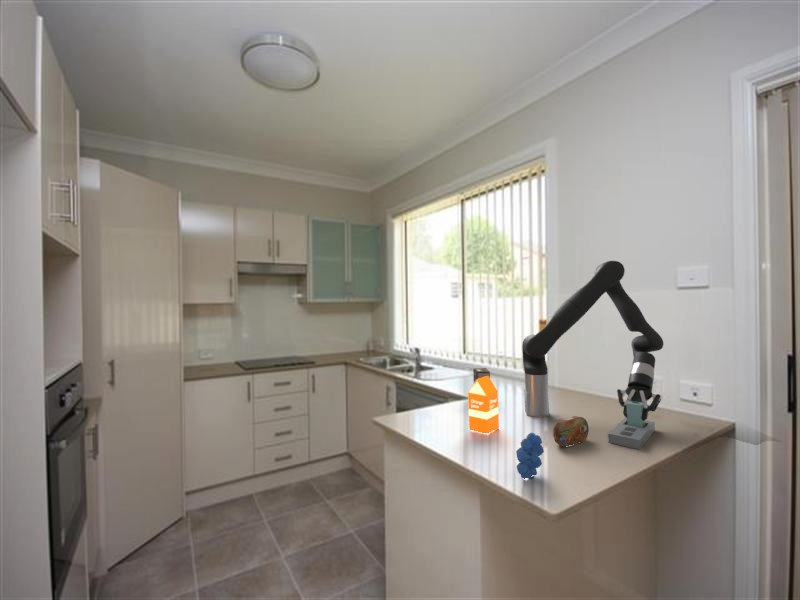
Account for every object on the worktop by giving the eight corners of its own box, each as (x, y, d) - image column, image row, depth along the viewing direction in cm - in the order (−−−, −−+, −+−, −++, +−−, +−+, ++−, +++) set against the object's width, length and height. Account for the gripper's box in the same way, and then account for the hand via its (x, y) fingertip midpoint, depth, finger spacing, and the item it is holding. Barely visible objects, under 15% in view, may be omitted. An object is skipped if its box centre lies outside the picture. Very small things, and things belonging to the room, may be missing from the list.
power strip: (640, 449, 116) (639, 438, 116) (608, 442, 122) (608, 431, 122) (654, 430, 131) (654, 420, 131) (626, 424, 137) (625, 415, 137)
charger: (627, 428, 130) (626, 402, 130) (630, 425, 133) (629, 399, 133) (642, 431, 127) (641, 404, 127) (645, 427, 130) (644, 402, 130)
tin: (559, 449, 118) (558, 423, 118) (551, 446, 121) (550, 421, 121) (590, 440, 125) (589, 415, 125) (581, 437, 127) (580, 413, 128)
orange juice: (469, 431, 137) (467, 378, 137) (481, 425, 143) (479, 374, 143) (487, 436, 131) (485, 380, 131) (499, 429, 138) (497, 376, 138)
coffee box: (474, 401, 176) (472, 368, 176) (487, 400, 176) (486, 367, 176) (477, 406, 167) (476, 371, 167) (491, 406, 167) (490, 371, 167)
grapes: (527, 465, 108) (526, 425, 108) (549, 473, 102) (548, 430, 102) (505, 479, 100) (503, 435, 100) (528, 488, 95) (526, 442, 95)
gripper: (617, 369, 140) (609, 408, 132) (662, 374, 130) (657, 416, 122) (622, 381, 144) (614, 419, 136) (666, 386, 134) (660, 428, 125)
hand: (634, 417), depth 129 cm, fingers closed on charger, 4 cm apart
